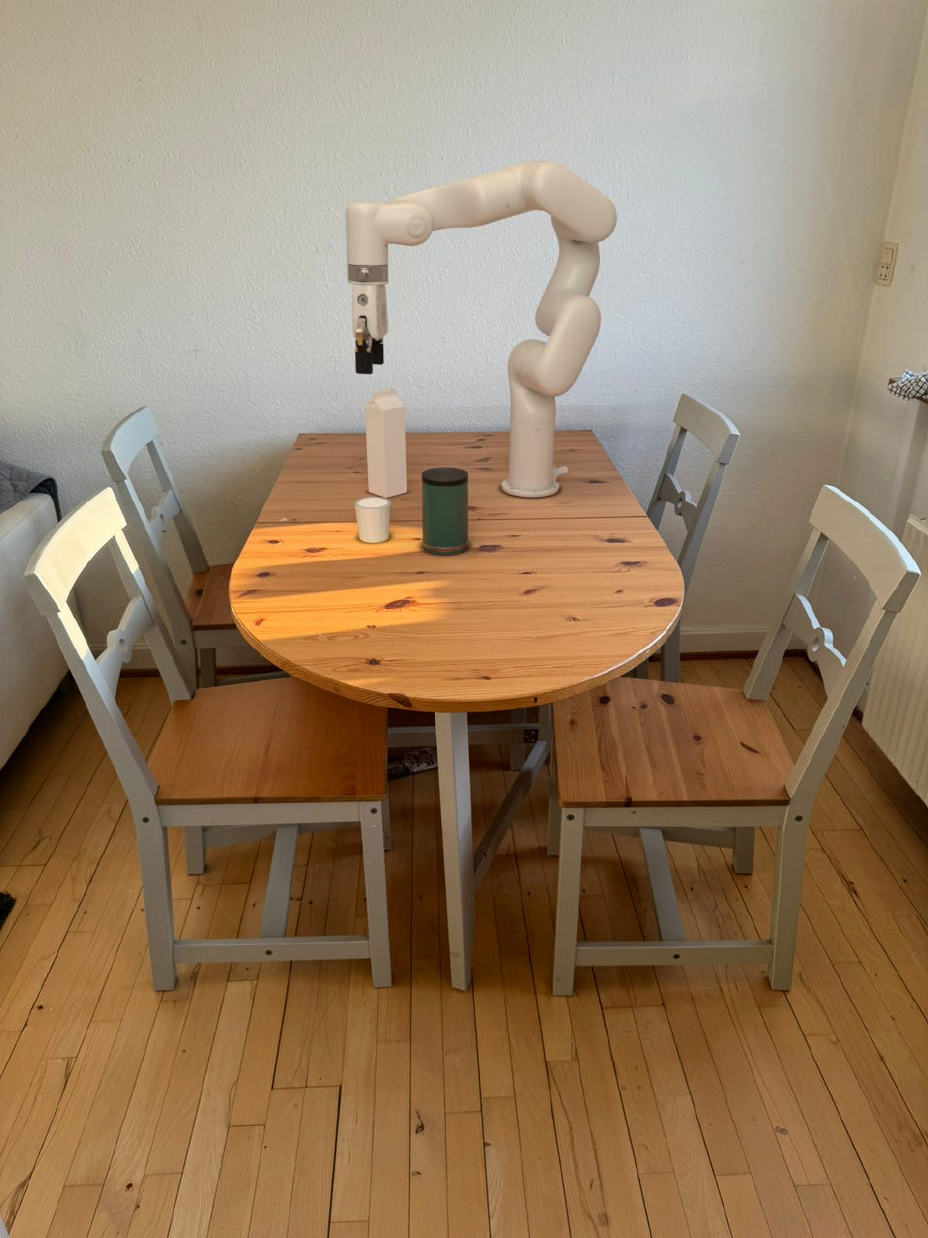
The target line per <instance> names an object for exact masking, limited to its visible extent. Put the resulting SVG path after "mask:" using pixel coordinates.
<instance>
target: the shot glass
mask: <svg viewBox="0 0 928 1238" xmlns="http://www.w3.org/2000/svg"><path fill="white" fill-rule="evenodd" d="M353 504H354V511H355V517H356V524H357V532H358V537H359V540H360V541H362V542H364V543H370V544H371V543H372V544H376V543H382V542H385V541H387V540H388V539H389V538H390V527H391V526H390V525H391V511H392V502H391V500H389V499H388V498H384V497H381V496H379V497H376V496H371V497H364V498H360V499H358V500H356V501H354V503H353Z"/></svg>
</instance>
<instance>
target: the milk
mask: <svg viewBox="0 0 928 1238" xmlns="http://www.w3.org/2000/svg"><path fill="white" fill-rule="evenodd" d="M364 413H365V415H364V416H365V417H364V418H365V439H366V462H367V483H368V486H367V487H368V493H371V494H373V495H376V496H379V497H380V498H385V499H388V498H392V497H395V496H399V495H403V494H407V493H408V481H407V480H408V479H407V475H408V473H407V446H406V445H407V441H406V439H407V437H406V435H407V434H406V405H405V404H404V403H403V401H401V400H400V398H399V397H398V396H397V390H396V388H394V387H393V388H387V389H382V390H377V391H374V392H372V400H370V401H368V403H366V404H365V405H364Z"/></svg>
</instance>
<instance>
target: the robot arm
mask: <svg viewBox="0 0 928 1238" xmlns="http://www.w3.org/2000/svg"><path fill="white" fill-rule="evenodd" d="M532 211H540V212H545V213H547V214H548V215H549V216H550V223H551V226H552V229H553V232H554V233H555V236H556V239H557V243H558V257H557V261H556V264H555V268H554V269H553V273H552V275H551V276H550V279H549V282H548V284H547V286H546V287H545V290H544V292H543V295H542V296H541V298H540V301H539V303H538V305H537V308H536V310H535V315H534V320H535V326H536V327H537V329H538V330H539V331H540V332H541V333H542V334H544V335H546V336H547V337H548V339H547V341H543V340H540V339H535V338H531V339H525V340H521V341H520V342H519V343H517V344H516V345H515V346H513V349H511V351H510V354H509V357H508V360H507V377H508V384H509V395H510V413H509V414H510V417H509V447H508V449H509V453H508V454H509V456H508V478H506V479H504V480H502V482H501V485H500V487H501V490H502V491H503V492H504V493H506V494H508V495H510V496H514V497H518V498H519V497H520V498H545V497H549V496H553V495H555V494H557V493H558V492H559V490H560V483H559V482H558V481H557V479H558V478H559V477H562V476H566V475H568V474H569V473H570V472H569V471H570V470H569V468H568V466H567V465H563V466H558V467H556V465H554V452H555V431H556V415H557V414H556V412H557V410H556V409H557V407H556V397H560V396H562V395H565V394H566V393H567V392H568V391H570V390H571V388H572V387H573V386H574V385H575V384H576V381H577V380H578V379H579V376H580V374H581V372H582V370H583V368H584V366H585V364H586V362H587V359H588V357H589V355H590V354H591V352H592V349H593V347H594V345H595V342H596V340H597V338H598V336H599V333H600V329H601V323H602V315H601V311H600V307H599V305H598V303H596V301H595V300H594V299H593V298H591V297H590V295H591V292H592V290H593V288H594V285H595V282H596V279H597V277H598V274H599V270H600V265H601V252H600V246H599V243H601V242H602V241H605V240H607V239H608V238H610V236H611V235H612V233H613V232H614V230H615V229H616V226H617V222H618V214H617V213H618V212H617V211H616V206H615V205H614V203H613V201H612V200H611V199H610V198H609V197H608V196H607V195H605V194H604V192H602V191H600V190H599V189H597V188H596V187H594V186H593V185H592V184H590V183H589V182H587V181H586V180H585V179H583V178H582V177H580V176H579V175H577V174H576V173H575V172H573V171H572V170H570V169H569V168H567V167H566V166H564V165H562V164H561V163H559V162H556V161H552V160H530V161H525V162H521V163H518V164H517V163H516V164H513V165H510V166H507V167H504V168H501V169H500V168H499V169H497V170H494V171H490V172H487V173H483V174H480V175H475V176H472V177H468V178H464V179H460V180H457V181H453V182H450V183H447V184H444V185H440V186H435V187H432V188H427V189H424V190H420V191H416V192H413V193H409V194H406V195H402V196H399V197H395V198H392V199H390V200H388V201H386V202H385V203H382V202H380V201H352V202H349V203H348V204H347V206H346V208H345V227H346V228H345V233H346V263H347V264H346V266H347V283H348V284H350V285H352V295H351V297H352V302H351V303H352V310H351V311H352V313H351V315H352V316H351V317H352V334H353V338H355V340H354V343H355V346H354V363H355V364H354V365H355V367H354V368H355V373H356V374H357V375H372V374H374V365H376V366H377V365H378V366H380V365H381V366H382V365H383V364H384V362H385V355H384V351H385V350H384V347H385V346H384V337H385V336H386V335H388V332H389V320H388V317H389V316H388V301H387V290H386V285H389V244H393V245H401V246H406V247H416V246H420V245H422V244H424V243H425V242H426V241H427V240H429V238H430V237H431V235H432V234H433V232H436V231H441V230H446V229H456V228H457V229H458V228H459V229H462V228H463V229H465V228H467V229H468V228H477V227H483V226H486V225H490V224H492V223H495V222H498V221H501V220H505V219H509V218H511V217H515V216H519V215H522V214H526V213H528V212H532Z"/></svg>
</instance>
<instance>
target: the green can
mask: <svg viewBox="0 0 928 1238" xmlns="http://www.w3.org/2000/svg"><path fill="white" fill-rule="evenodd" d="M421 517H422V519H421V521H422V523H421V524H422V527H421V528H422V541H421V542H422V549H423V550H424V551H425V552H426V553H429V554H433V555H438V556H453V555H458V554H462V553H463V552H465V551H467V550H468V548H469V473H468V471H466V470H464V469H461V468H459V467H458V468H457V467H450V466H449V467H448V466H447V467H445V466H444V467H433V468H427V469H426V470H424V471H422V472H421Z"/></svg>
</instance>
